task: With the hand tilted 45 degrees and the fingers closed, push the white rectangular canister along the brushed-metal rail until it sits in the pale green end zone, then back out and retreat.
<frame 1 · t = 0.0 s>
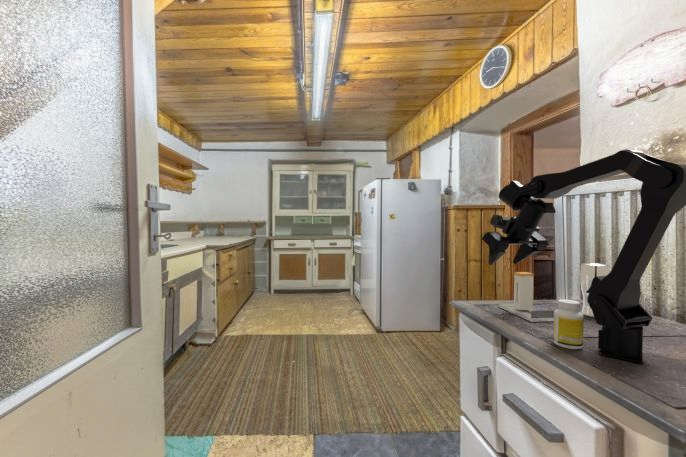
hand: (502, 263, 96), 15 cm above the countertop, tool tilted 35°, fingers open, 9 cm apart
white rectangular canister: (523, 290, 97), point 7 cm above the countertop, slide at 2.0 cm
supplement bottle: (567, 346, 72), on the countertop
fader rail: (527, 314, 95), on the countertop
beer glass: (594, 315, 96), on the countertop
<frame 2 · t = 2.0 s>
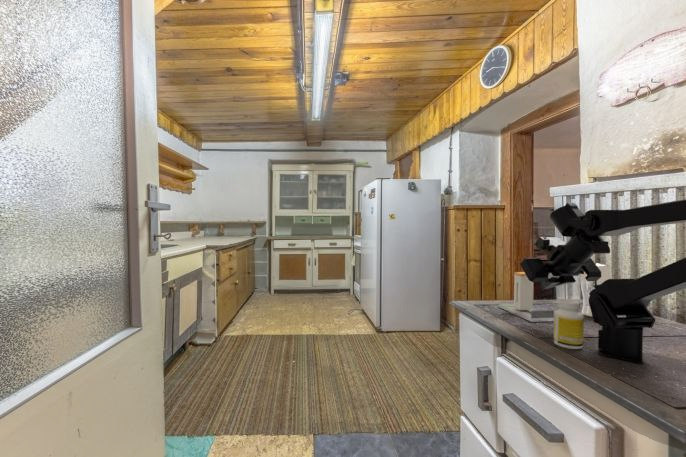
hand: (543, 287, 89), 9 cm above the countertop, tool tilted 45°, fingers closed
nothing on the countertop moved.
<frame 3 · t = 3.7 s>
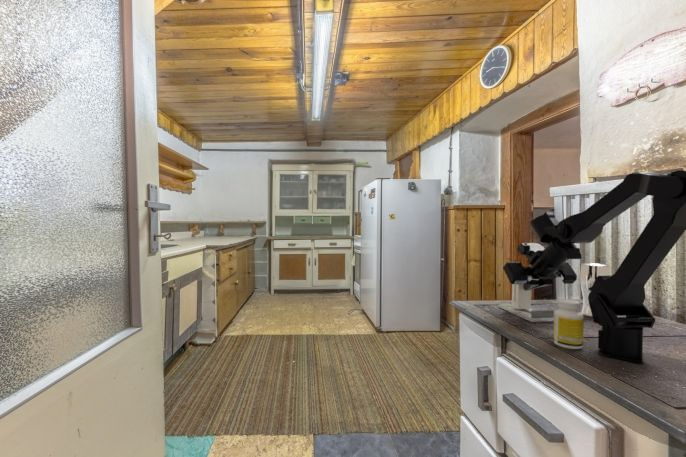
hand: (525, 289, 96), 7 cm above the countertop, tool tilted 45°, fingers closed, pressing on white rectangular canister
white rectangular canister: (521, 290, 98), point 7 cm above the countertop, slide at 3.0 cm, touching gripper
everything else where it was.
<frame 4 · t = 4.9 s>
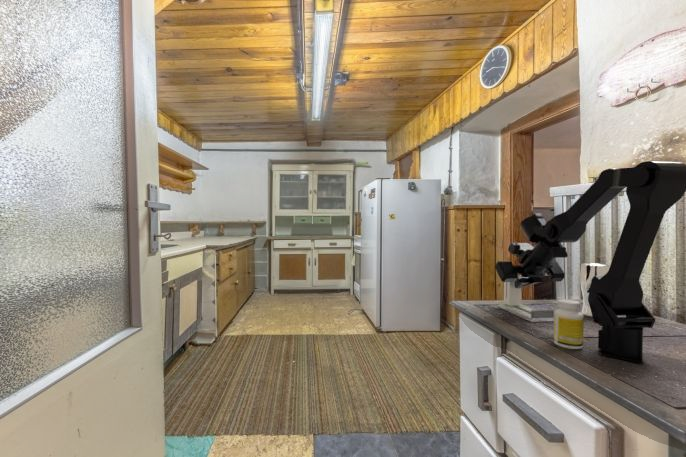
hand: (516, 287, 101), 7 cm above the countertop, tool tilted 45°, fingers closed, pressing on white rectangular canister
white rectangular canister: (512, 287, 102), point 7 cm above the countertop, slide at 7.2 cm, touching gripper
everything else where it was.
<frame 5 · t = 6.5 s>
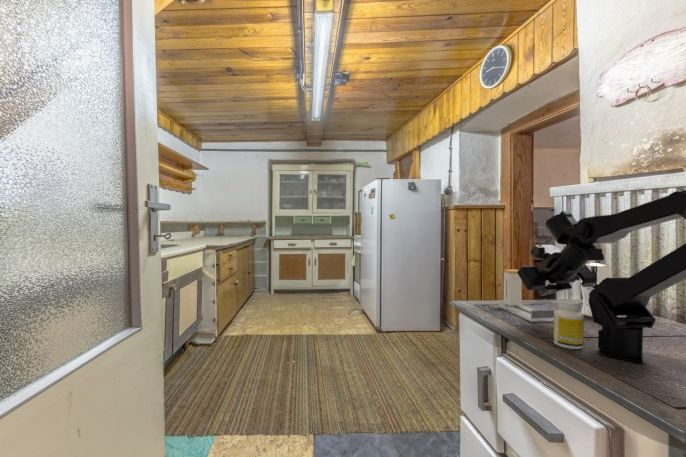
hand: (540, 294, 90), 7 cm above the countertop, tool tilted 45°, fingers closed
white rectangular canister: (512, 287, 102), point 7 cm above the countertop, slide at 7.2 cm
everything else where it was.
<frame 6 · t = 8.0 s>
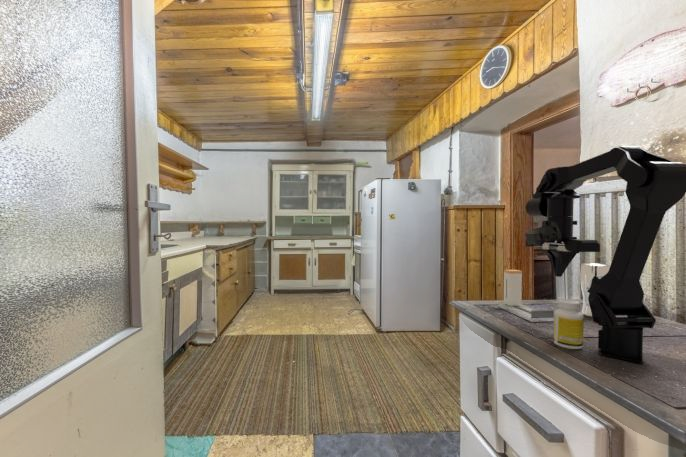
hand: (558, 276, 85), 13 cm above the countertop, tool pointing down, fingers closed
nothing on the countertop moved.
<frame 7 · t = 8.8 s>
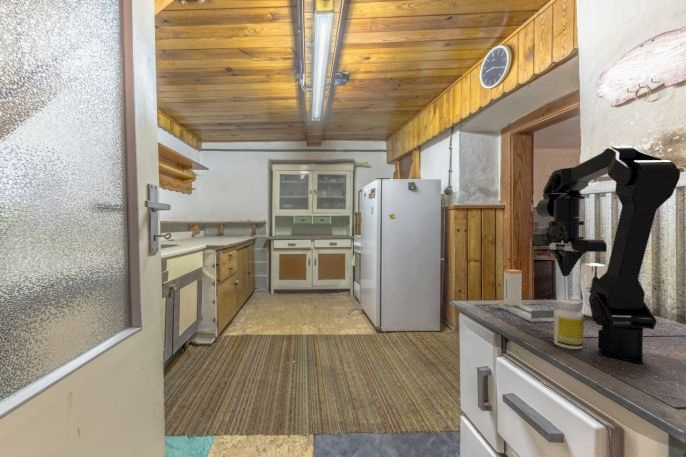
hand: (565, 276, 86), 13 cm above the countertop, tool pointing down, fingers closed
nothing on the countertop moved.
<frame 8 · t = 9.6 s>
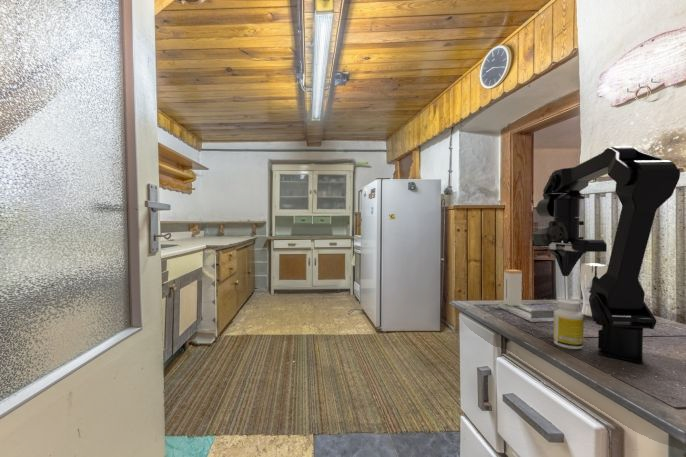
hand: (565, 276, 86), 13 cm above the countertop, tool pointing down, fingers closed
nothing on the countertop moved.
at the end: white rectangular canister slide at 7.2 cm; white rectangular canister touching nothing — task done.
